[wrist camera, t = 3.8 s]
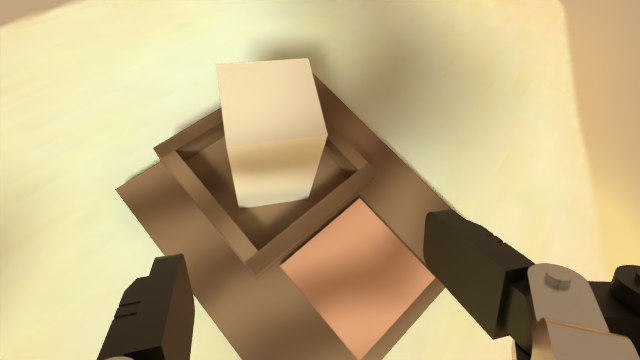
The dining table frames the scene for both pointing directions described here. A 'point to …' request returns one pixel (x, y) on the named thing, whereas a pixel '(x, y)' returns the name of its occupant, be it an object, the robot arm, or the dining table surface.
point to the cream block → (271, 129)
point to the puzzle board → (296, 242)
